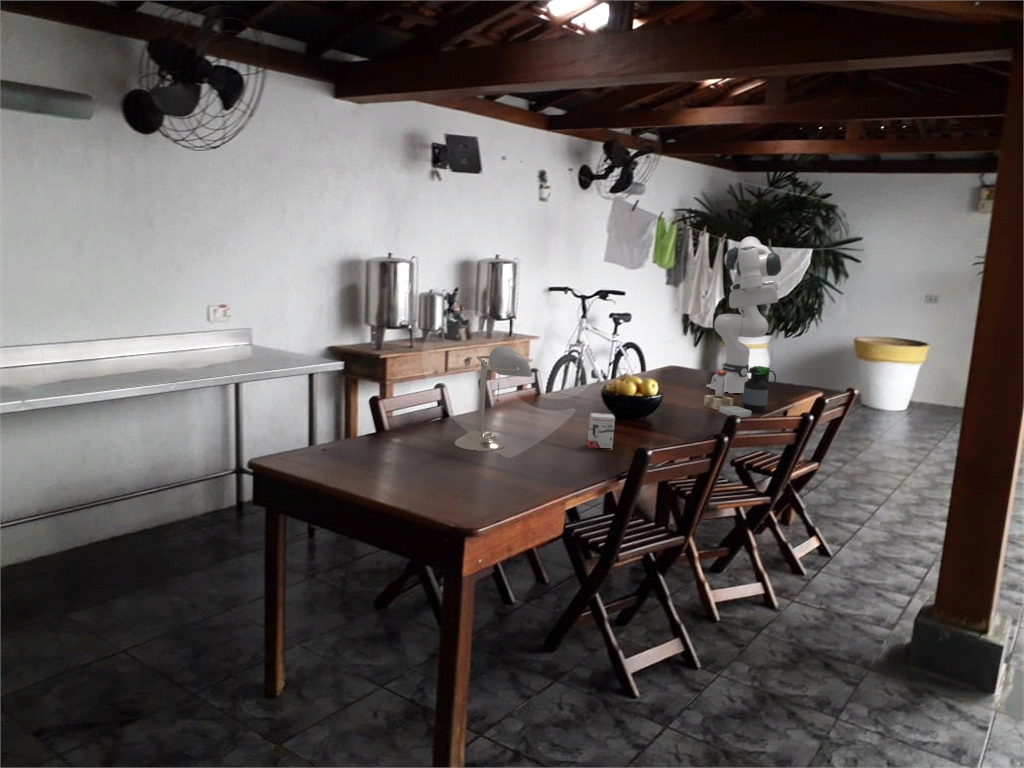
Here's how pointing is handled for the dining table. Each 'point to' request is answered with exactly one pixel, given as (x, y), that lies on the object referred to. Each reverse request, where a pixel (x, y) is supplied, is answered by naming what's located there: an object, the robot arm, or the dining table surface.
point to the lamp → (505, 365)
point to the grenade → (757, 389)
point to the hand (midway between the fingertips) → (755, 316)
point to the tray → (735, 411)
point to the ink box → (601, 430)
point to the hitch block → (717, 402)
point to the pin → (720, 383)
